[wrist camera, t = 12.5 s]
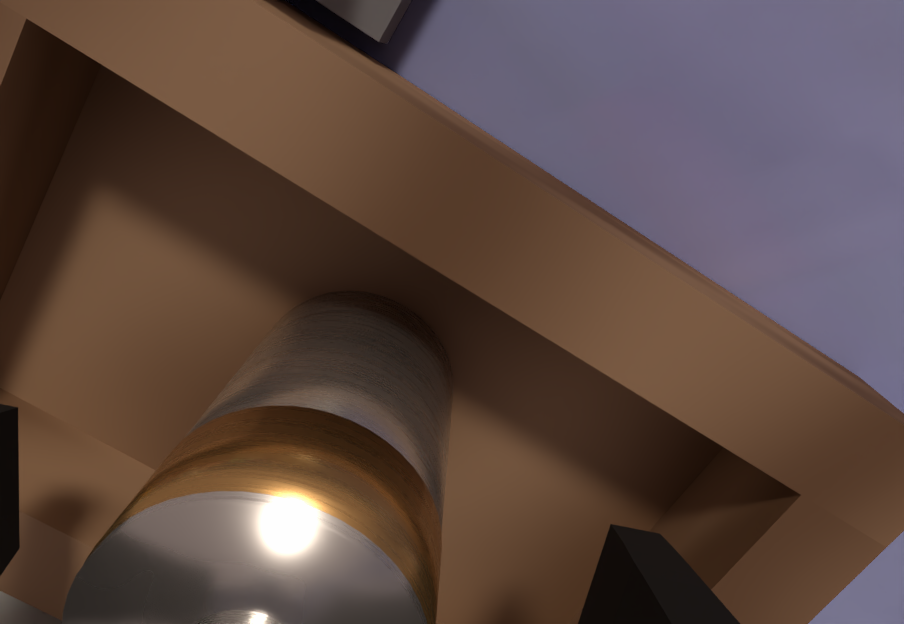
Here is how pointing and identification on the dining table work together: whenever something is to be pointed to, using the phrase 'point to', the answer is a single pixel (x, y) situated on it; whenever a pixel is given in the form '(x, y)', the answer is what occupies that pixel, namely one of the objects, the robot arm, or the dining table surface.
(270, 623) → the cell
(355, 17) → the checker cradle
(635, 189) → the dining table surface
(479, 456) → the trough
